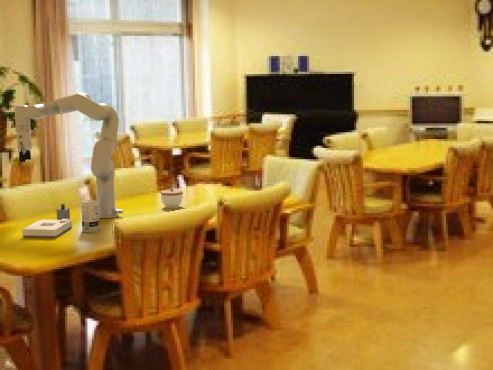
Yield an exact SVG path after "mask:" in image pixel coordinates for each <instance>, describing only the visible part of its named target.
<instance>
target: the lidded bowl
mask: <svg viewBox="0 0 493 370" xmlns="http://www.w3.org/2000/svg"><path fill="white" fill-rule="evenodd" d="M183 195H184V191H183V190H181V189H174V188H173V187H170V189H164V190H161V191H160V197H161V198H160V199H161V203H162V204H163V206H164V207H165V208H166V207H167V208H166V209H178V208H179V206H181V205H182V202H183V199H184V196H183Z"/></svg>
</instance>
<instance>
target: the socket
mask: <svg viewBox="0 0 493 370" xmlns="http://www.w3.org/2000/svg"><path fill="white" fill-rule="evenodd" d="M72 221H73V220H72V219H70V220H69V219H62V220H57V219H39V220H37V221H35V222H33V223H31V224H29V225H27V226H26V227H23V228H22V230H21V231H22V238H27V239H29V238H30V239H31V238H33V239H35V238H36V239H57V238H58V237H60V236H61V235H63V234H65V233H66V232H67V231H69V230H71V229H73V228H72V227H73V226H72V225H73V224H72V223H73V222H72Z"/></svg>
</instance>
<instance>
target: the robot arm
mask: <svg viewBox="0 0 493 370" xmlns="http://www.w3.org/2000/svg"><path fill="white" fill-rule="evenodd" d="M77 111H78V112H79V113H81V114H82V115H84V116H86V117H88V118H90V119H92V120H94V121H96V122H99V121H102V125H101V130H100V137H99V139H98V140H97V141H96V142H95V144H94V146H93V148H92V149H93V150H92V156H91V163H90V172H91V173H92V175H93V176H94V177H95V178H96V179H95V180H96V181H95V183H96V184H95V186H96V187H95V188H96V189H95V191H96V200H97V202H98V208H99V219H113V218H116V217H118V216H119V214H123V213H124V210H123V209H118V208H117V206H116V195H115V194H116V192H115V190H116V189H115V173H116V171H115V170H116V166H115V162H114V161H113V160H112V159H111V158H112V155H113V154H114V153H115V151H116V149H117V140H118V131H119V125H120V124H119V122H120V121H119V120H120V119H119V115H118V113H117V111H116V109H115V108H114V107H112V105H109V104H108V103H104V102H103V103H97V102H96V101H94V100H92V98H91V96H90V94H88V93H86V92H77V93H74V94H71V95H67V96H62V97H59V98H57V99H55V100H51V101H48V102H43V103H39V104H31V105H28V104H19V105H16V106H15V107H14V117H15V118H14V119H15V122H14V123H15V132H16V133H17V136H16V137H17V138H16V139H17V149H18V162H19V163H25V162H26V160H27V161H28V160H29V161H31V160H32V153H31V152H32V151H31V149H32V148H33V144H32V142H33V141H32V136H31V132H32V129H31V128H32V127H31V120H41V119H44V118H47V117H52V116H57V115H65V114H68V113H72V112H77Z"/></svg>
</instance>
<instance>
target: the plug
mask: <svg viewBox="0 0 493 370" xmlns="http://www.w3.org/2000/svg"><path fill="white" fill-rule="evenodd" d="M70 213H71V212H70V207H66V205H65V203H61V204H60V207H59V208H57V209H56V220H62V219H69V220H71V214H70Z"/></svg>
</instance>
